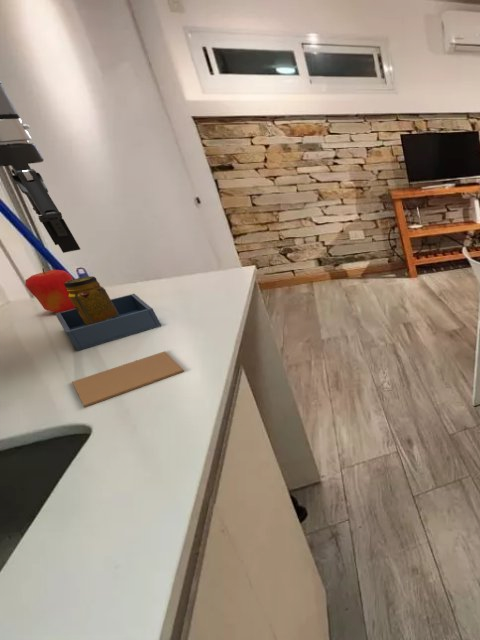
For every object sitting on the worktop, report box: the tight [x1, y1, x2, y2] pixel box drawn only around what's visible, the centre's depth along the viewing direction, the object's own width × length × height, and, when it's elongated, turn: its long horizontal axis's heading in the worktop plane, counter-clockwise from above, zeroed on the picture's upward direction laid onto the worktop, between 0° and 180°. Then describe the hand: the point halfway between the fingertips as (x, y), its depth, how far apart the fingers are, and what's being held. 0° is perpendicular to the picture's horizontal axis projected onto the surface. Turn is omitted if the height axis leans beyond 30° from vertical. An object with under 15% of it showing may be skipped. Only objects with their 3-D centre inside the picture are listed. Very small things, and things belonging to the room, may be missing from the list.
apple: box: [24, 267, 75, 314], centre depth 125 cm, size 9×8×12 cm
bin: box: [54, 293, 162, 352], centre depth 112 cm, size 15×20×4 cm
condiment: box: [64, 275, 120, 326], centre depth 110 cm, size 7×8×12 cm
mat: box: [71, 350, 185, 408], centre depth 89 cm, size 14×14×1 cm
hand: (67, 247), depth 104 cm, fingers open, 13 cm apart
